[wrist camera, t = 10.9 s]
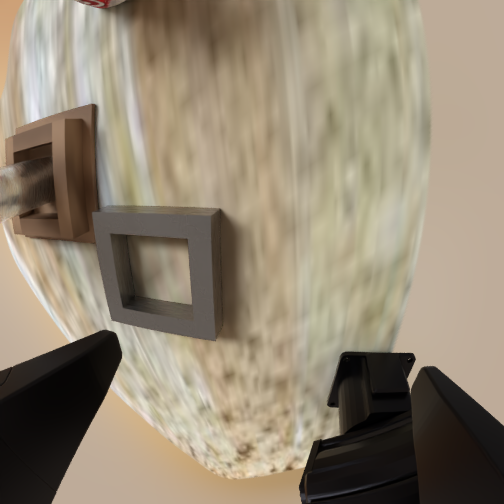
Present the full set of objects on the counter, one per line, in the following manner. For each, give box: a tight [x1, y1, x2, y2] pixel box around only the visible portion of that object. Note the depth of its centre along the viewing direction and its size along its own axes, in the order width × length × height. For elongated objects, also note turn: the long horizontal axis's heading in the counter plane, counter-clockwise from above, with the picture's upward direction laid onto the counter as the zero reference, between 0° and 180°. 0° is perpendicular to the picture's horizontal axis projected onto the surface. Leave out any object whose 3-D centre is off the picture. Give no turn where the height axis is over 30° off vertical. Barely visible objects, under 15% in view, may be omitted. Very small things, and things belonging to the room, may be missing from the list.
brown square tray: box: [5, 104, 99, 243], centre depth 19 cm, size 11×11×2 cm
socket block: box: [92, 206, 223, 341], centre depth 20 cm, size 9×9×2 cm
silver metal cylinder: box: [0, 156, 56, 223], centre depth 15 cm, size 4×4×11 cm
